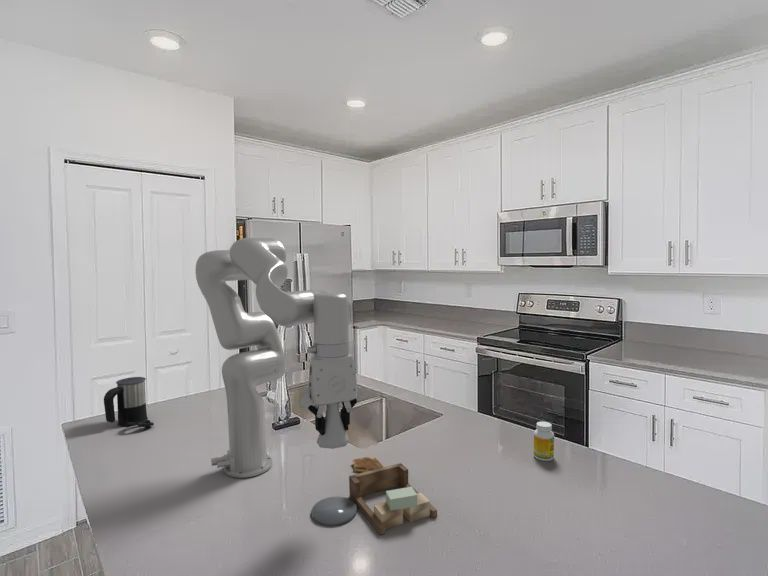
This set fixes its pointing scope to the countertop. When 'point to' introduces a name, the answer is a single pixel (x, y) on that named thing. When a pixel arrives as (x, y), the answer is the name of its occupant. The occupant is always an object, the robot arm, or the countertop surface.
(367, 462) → the shard
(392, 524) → the oak offcut block
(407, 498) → the sage painted offcut block
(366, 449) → the countertop surface
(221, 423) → the countertop surface
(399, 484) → the walnut rack
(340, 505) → the disc
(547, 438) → the supplement bottle
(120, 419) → the milk frother
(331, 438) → the flask
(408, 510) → the birch offcut block
